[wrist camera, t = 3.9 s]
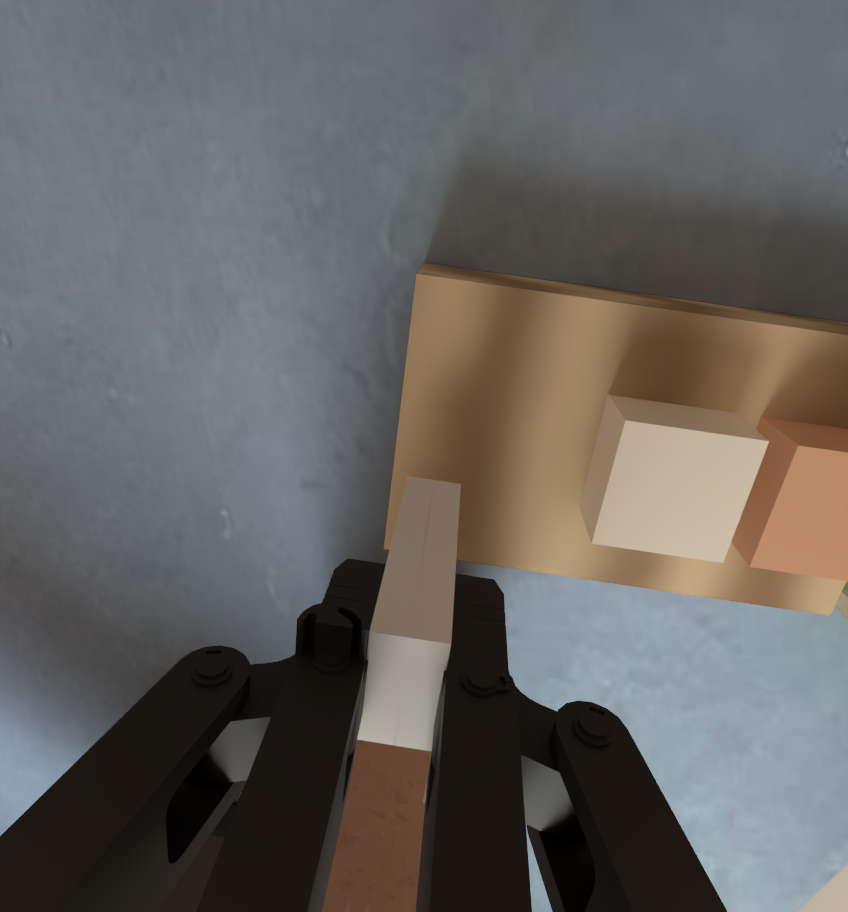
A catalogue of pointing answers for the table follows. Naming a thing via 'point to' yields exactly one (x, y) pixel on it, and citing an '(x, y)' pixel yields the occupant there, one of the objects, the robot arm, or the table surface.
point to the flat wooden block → (592, 414)
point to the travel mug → (380, 831)
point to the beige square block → (669, 478)
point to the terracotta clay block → (798, 502)
